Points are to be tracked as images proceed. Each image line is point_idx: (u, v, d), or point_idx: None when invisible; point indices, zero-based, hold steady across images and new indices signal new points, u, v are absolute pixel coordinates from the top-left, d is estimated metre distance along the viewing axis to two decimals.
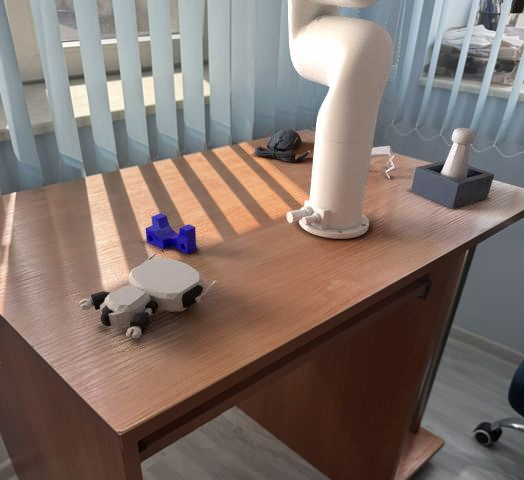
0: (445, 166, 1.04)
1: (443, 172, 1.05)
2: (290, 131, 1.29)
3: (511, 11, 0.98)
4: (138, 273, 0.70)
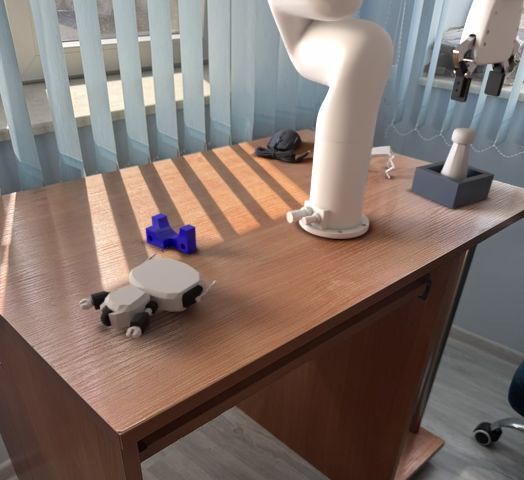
0: (445, 166, 1.04)
1: (443, 172, 1.05)
2: (290, 131, 1.29)
3: None
4: (138, 273, 0.70)
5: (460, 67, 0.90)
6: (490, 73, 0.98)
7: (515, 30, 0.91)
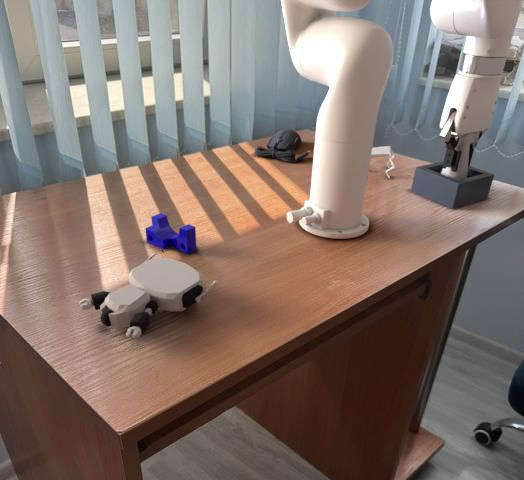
0: None
1: (443, 172, 1.05)
2: (290, 131, 1.29)
3: None
4: (138, 273, 0.70)
5: (451, 143, 0.99)
6: None
7: (493, 103, 0.98)
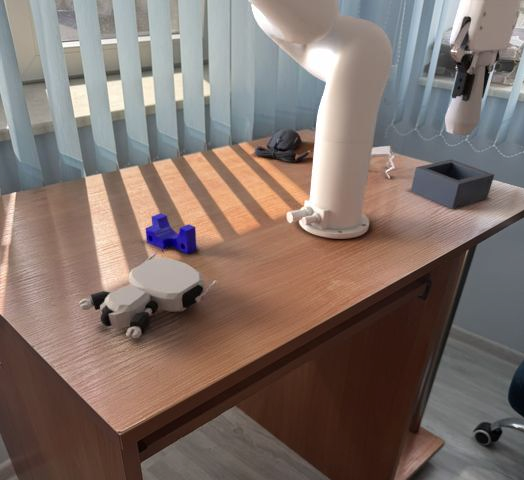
0: None
1: (453, 103, 0.88)
2: (290, 131, 1.29)
3: None
4: (138, 273, 0.70)
5: (464, 63, 0.82)
6: None
7: (514, 14, 0.81)
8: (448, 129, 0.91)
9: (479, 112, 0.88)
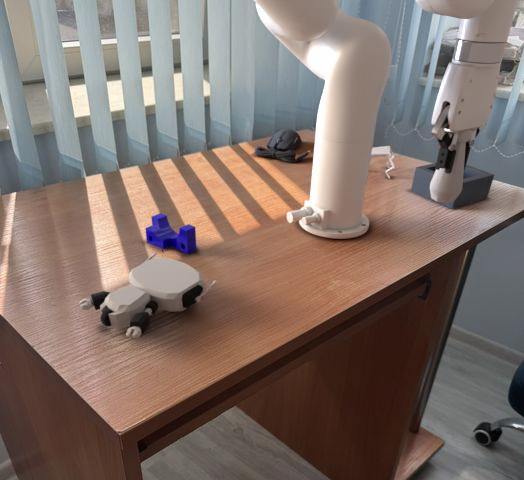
0: None
1: (436, 174, 0.94)
2: (290, 131, 1.29)
3: None
4: (138, 273, 0.70)
5: (445, 141, 0.88)
6: None
7: (492, 96, 0.86)
8: (433, 196, 0.96)
9: (461, 182, 0.93)
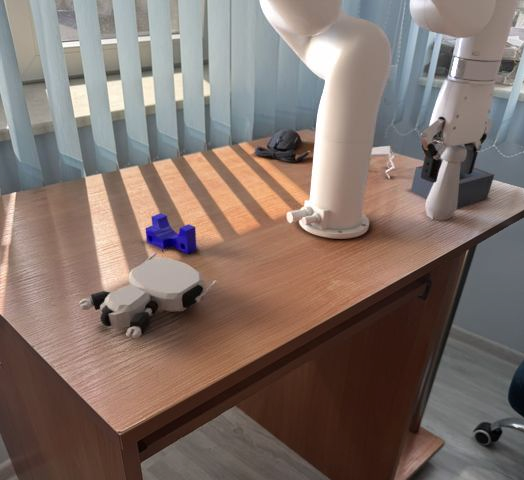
0: (434, 186, 0.95)
1: (432, 192, 0.96)
2: (290, 131, 1.29)
3: None
4: (138, 273, 0.70)
5: (429, 150, 0.87)
6: None
7: (486, 112, 0.88)
8: (428, 214, 0.98)
9: (456, 201, 0.95)
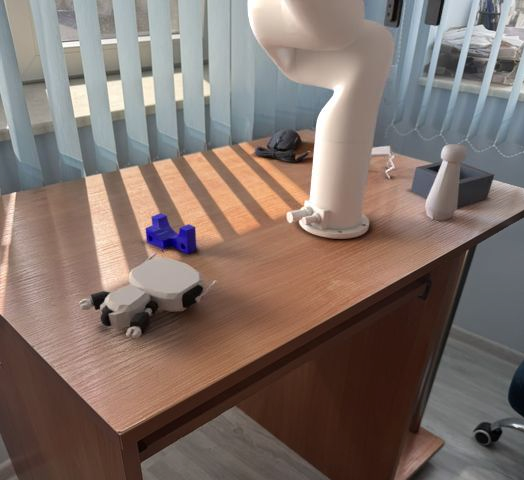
0: (434, 186, 0.95)
1: (432, 192, 0.96)
2: (290, 131, 1.29)
3: None
4: (138, 273, 0.70)
5: None
6: (429, 0, 0.91)
7: None
8: (428, 214, 0.98)
9: (456, 201, 0.95)
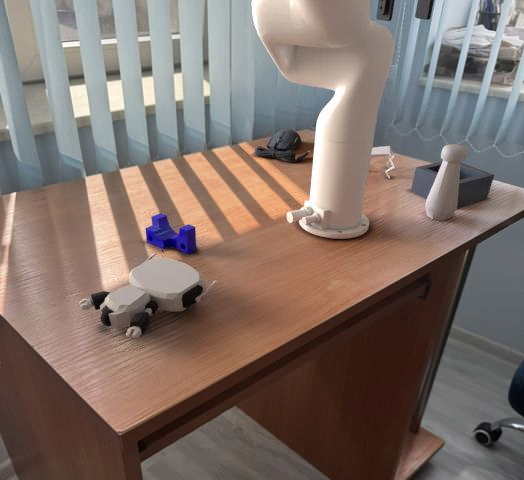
0: (434, 186, 0.95)
1: (432, 192, 0.96)
2: (290, 131, 1.29)
3: None
4: (138, 273, 0.70)
5: None
6: None
7: None
8: (428, 214, 0.98)
9: (456, 201, 0.95)
